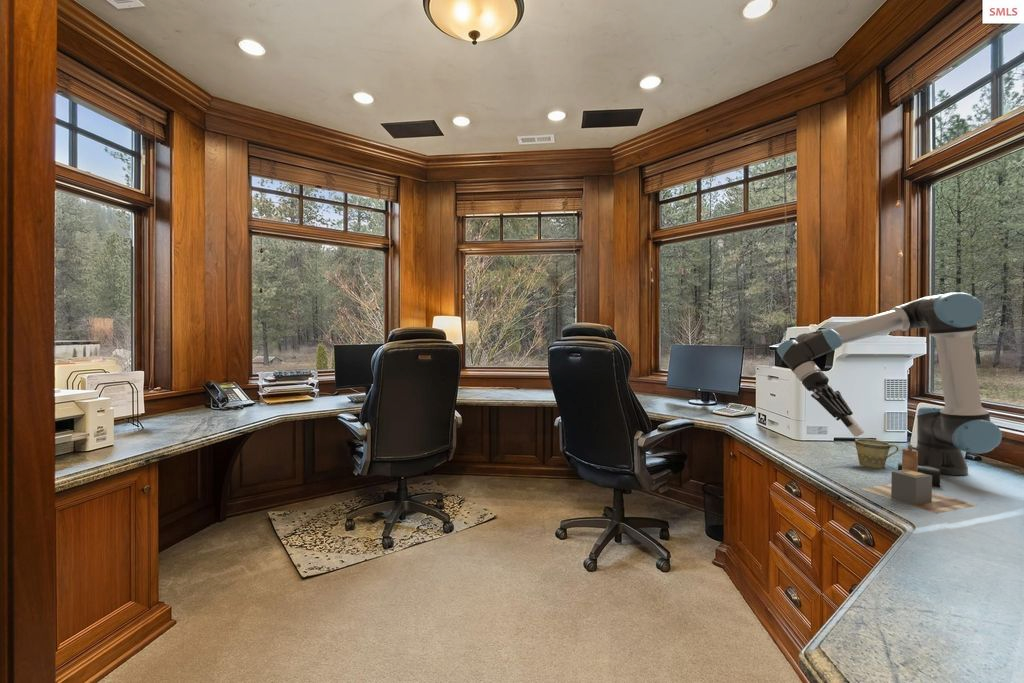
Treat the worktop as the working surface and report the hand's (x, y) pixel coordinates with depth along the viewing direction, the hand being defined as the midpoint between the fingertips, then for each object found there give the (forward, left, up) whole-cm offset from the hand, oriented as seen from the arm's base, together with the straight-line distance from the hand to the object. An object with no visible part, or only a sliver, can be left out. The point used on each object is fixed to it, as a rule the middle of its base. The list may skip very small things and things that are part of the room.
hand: (859, 434), depth 138 cm
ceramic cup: (-27, -11, -17) cm, 34 cm away
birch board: (-4, +13, -17) cm, 22 cm away
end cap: (-21, +5, -18) cm, 28 cm away
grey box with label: (+1, +15, -16) cm, 22 cm away
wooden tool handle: (-11, +8, -16) cm, 21 cm away
